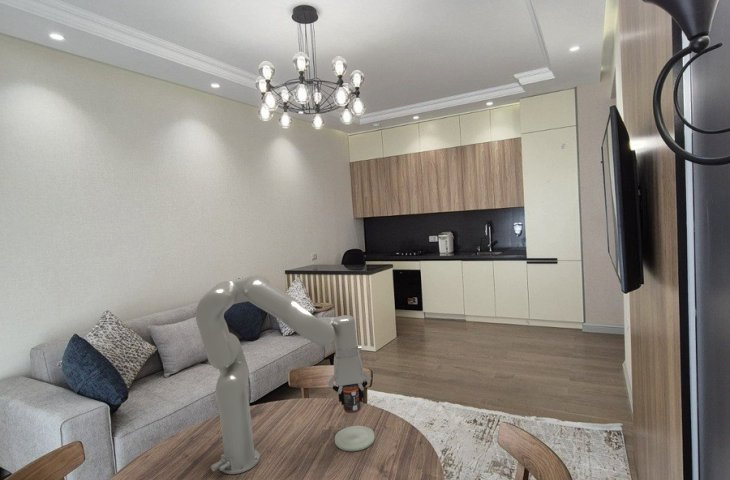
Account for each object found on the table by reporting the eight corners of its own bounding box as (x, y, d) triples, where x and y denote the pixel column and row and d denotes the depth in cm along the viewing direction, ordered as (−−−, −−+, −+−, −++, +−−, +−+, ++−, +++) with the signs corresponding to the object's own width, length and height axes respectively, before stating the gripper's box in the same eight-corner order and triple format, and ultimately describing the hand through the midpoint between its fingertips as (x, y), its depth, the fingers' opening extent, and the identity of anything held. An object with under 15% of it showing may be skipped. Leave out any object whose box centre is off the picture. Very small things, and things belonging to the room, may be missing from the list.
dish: (358, 456, 131) (357, 451, 131) (326, 444, 140) (326, 440, 140) (382, 435, 142) (381, 431, 142) (351, 426, 151) (351, 422, 151)
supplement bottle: (360, 413, 137) (357, 381, 137) (343, 414, 137) (340, 382, 137) (361, 405, 143) (358, 374, 143) (344, 406, 143) (341, 375, 143)
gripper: (369, 345, 144) (374, 393, 145) (321, 351, 142) (326, 400, 143) (372, 351, 137) (377, 402, 138) (322, 358, 134) (327, 410, 135)
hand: (351, 401), depth 140 cm, fingers closed on supplement bottle, 6 cm apart
